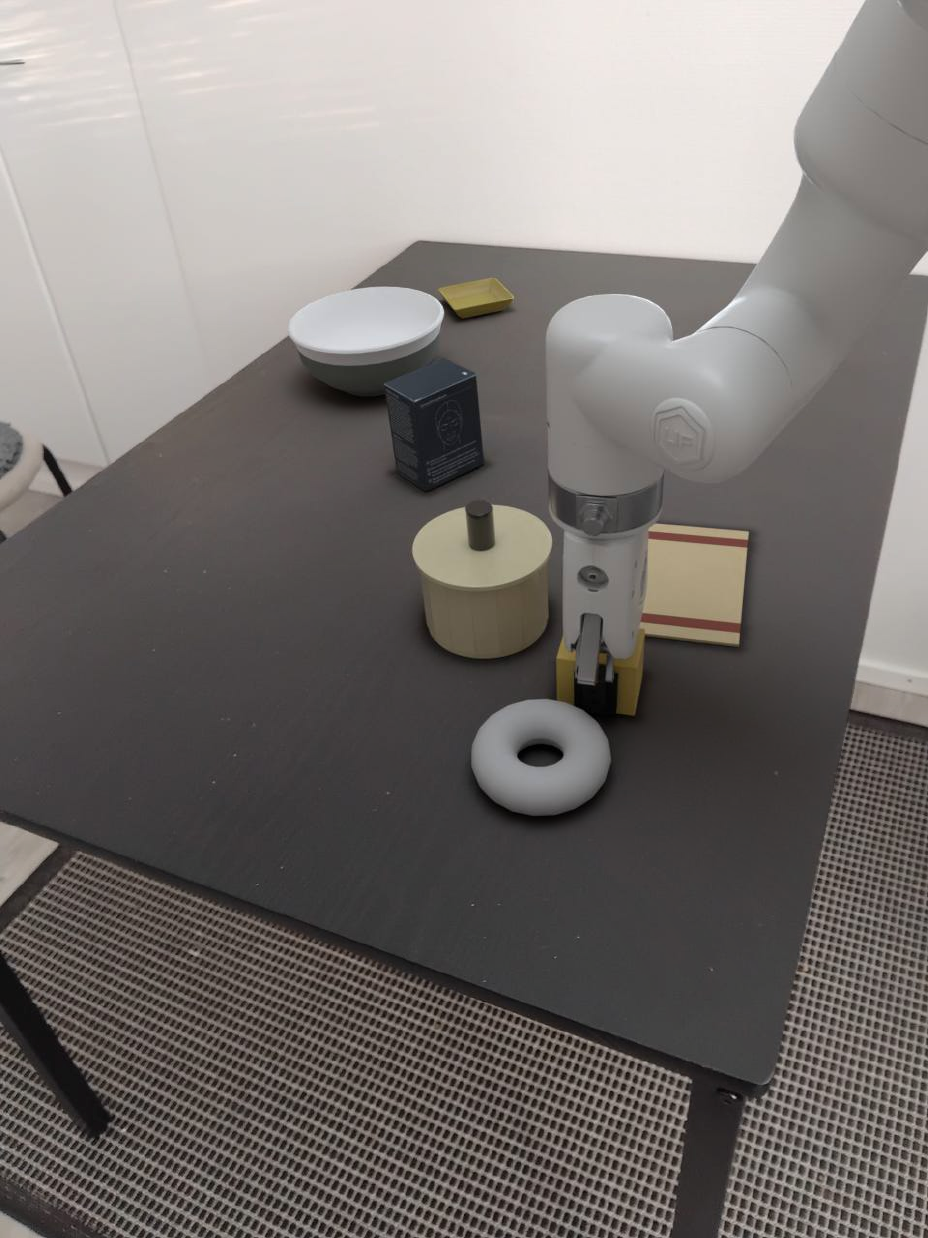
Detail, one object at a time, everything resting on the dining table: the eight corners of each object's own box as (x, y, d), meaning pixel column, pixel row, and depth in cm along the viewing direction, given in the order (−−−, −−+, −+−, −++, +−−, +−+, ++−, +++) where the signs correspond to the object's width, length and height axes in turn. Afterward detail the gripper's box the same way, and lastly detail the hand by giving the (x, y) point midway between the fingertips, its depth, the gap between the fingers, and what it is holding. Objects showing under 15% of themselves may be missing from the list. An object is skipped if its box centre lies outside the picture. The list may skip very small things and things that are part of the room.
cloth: (748, 533, 91) (748, 531, 91) (738, 647, 79) (739, 644, 79) (640, 524, 93) (640, 521, 93) (615, 632, 82) (615, 629, 82)
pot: (544, 577, 88) (542, 508, 83) (552, 655, 80) (550, 583, 75) (429, 584, 89) (421, 516, 84) (425, 662, 81) (416, 591, 76)
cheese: (642, 676, 78) (645, 628, 74) (634, 716, 74) (637, 668, 71) (567, 666, 79) (567, 619, 76) (556, 705, 76) (556, 658, 73)
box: (453, 446, 107) (445, 355, 101) (485, 465, 104) (478, 373, 97) (394, 472, 104) (381, 381, 97) (425, 493, 100) (413, 400, 94)
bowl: (412, 425, 112) (404, 357, 106) (271, 407, 118) (257, 342, 112) (472, 354, 125) (467, 291, 119) (342, 341, 131) (332, 280, 125)
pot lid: (548, 510, 84) (546, 464, 81) (557, 593, 75) (556, 545, 72) (416, 519, 85) (410, 473, 82) (410, 602, 76) (403, 554, 73)
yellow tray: (437, 301, 139) (436, 287, 137) (495, 290, 140) (494, 275, 139) (455, 324, 132) (454, 309, 131) (515, 312, 134) (515, 297, 132)
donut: (638, 767, 71) (535, 700, 76) (641, 735, 68) (535, 668, 74) (546, 852, 66) (443, 774, 71) (545, 820, 63) (439, 742, 69)
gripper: (646, 572, 58) (634, 776, 69) (676, 429, 70) (661, 623, 82) (522, 559, 60) (531, 760, 71) (572, 422, 72) (572, 613, 84)
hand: (600, 685), depth 76 cm, fingers closed on cheese, 4 cm apart
